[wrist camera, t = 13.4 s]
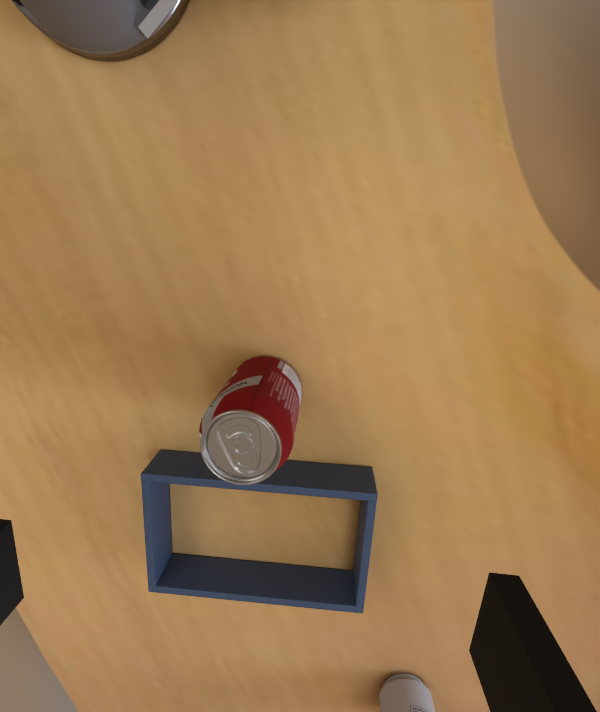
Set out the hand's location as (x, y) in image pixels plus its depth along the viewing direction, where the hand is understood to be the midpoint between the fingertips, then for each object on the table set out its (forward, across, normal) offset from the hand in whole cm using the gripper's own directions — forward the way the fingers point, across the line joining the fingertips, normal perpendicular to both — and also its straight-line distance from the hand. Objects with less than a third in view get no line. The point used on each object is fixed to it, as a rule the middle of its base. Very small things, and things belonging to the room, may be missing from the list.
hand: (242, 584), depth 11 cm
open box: (+26, -3, -19) cm, 33 cm away
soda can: (+27, -3, -5) cm, 27 cm away
